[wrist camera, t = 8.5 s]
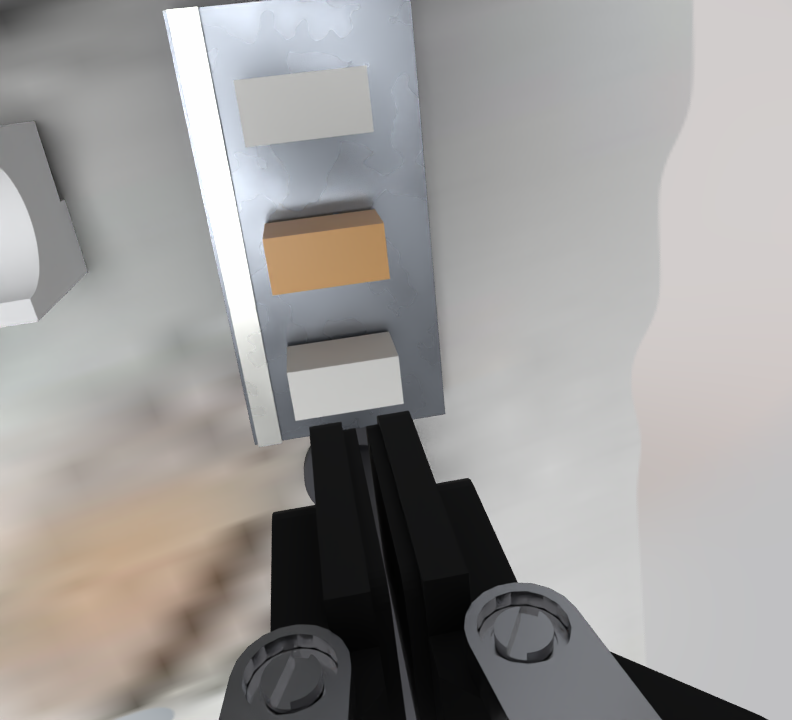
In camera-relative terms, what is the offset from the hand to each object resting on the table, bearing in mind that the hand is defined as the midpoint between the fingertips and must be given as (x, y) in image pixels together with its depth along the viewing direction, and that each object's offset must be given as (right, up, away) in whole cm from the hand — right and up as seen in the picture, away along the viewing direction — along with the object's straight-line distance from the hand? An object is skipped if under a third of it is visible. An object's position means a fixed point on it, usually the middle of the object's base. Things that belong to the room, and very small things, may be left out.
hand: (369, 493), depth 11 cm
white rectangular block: (-2, +2, +22) cm, 22 cm away
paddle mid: (-3, +8, +20) cm, 21 cm away
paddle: (-3, +13, +17) cm, 22 cm away
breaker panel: (-3, +9, +23) cm, 25 cm away
